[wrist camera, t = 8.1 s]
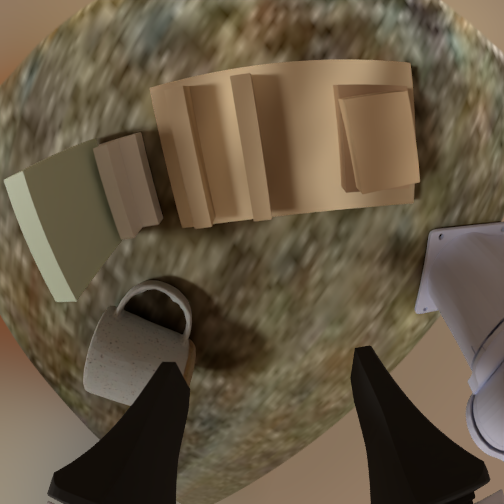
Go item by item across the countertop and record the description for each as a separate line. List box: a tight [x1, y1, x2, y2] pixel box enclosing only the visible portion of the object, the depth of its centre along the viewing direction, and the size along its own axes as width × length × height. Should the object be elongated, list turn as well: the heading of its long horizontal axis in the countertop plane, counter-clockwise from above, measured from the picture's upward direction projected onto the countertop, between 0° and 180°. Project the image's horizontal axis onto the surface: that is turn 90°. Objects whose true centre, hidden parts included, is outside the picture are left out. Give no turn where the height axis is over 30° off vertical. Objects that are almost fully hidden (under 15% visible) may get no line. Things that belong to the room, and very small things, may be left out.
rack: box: [150, 60, 415, 229], centre depth 15 cm, size 15×9×2 cm, turn 98°
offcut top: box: [338, 90, 420, 194], centre depth 14 cm, size 4×5×1 cm
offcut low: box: [333, 84, 409, 193], centre depth 15 cm, size 4×6×1 cm, turn 9°
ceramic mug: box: [83, 280, 196, 406], centre depth 21 cm, size 11×8×8 cm
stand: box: [93, 132, 163, 240], centre depth 17 cm, size 7×6×2 cm
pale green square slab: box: [4, 138, 122, 302], centre depth 14 cm, size 2×7×7 cm, turn 9°
